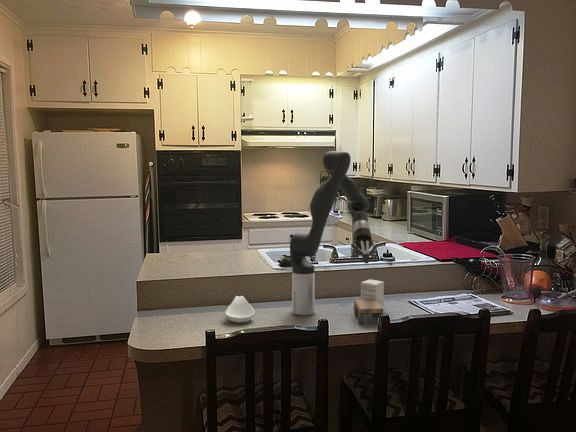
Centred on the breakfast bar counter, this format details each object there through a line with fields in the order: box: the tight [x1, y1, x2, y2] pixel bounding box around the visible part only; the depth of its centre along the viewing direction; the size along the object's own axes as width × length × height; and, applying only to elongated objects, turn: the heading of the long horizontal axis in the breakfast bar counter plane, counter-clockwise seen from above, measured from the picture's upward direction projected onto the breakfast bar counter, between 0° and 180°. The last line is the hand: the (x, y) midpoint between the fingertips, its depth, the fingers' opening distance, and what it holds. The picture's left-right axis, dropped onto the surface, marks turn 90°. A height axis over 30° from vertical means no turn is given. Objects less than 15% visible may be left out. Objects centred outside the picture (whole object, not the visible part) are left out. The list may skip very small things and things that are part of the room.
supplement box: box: [360, 279, 385, 315], centre depth 209 cm, size 7×7×13 cm
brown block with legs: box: [353, 298, 384, 325], centre depth 196 cm, size 9×15×7 cm, turn 2°
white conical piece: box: [224, 295, 256, 324], centre depth 202 cm, size 24×12×7 cm, turn 8°
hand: (366, 262), depth 220 cm, fingers closed
